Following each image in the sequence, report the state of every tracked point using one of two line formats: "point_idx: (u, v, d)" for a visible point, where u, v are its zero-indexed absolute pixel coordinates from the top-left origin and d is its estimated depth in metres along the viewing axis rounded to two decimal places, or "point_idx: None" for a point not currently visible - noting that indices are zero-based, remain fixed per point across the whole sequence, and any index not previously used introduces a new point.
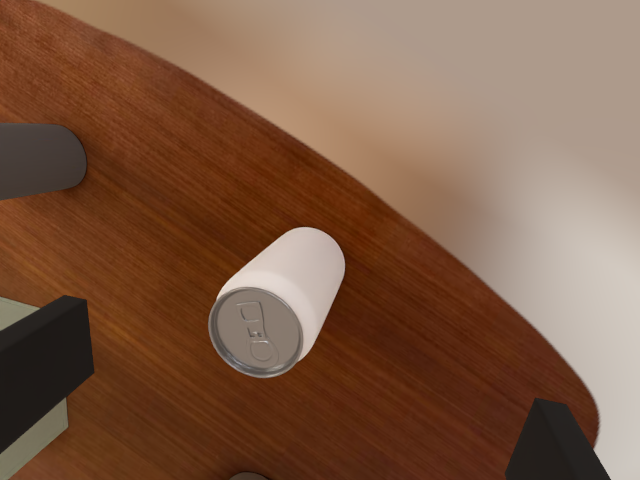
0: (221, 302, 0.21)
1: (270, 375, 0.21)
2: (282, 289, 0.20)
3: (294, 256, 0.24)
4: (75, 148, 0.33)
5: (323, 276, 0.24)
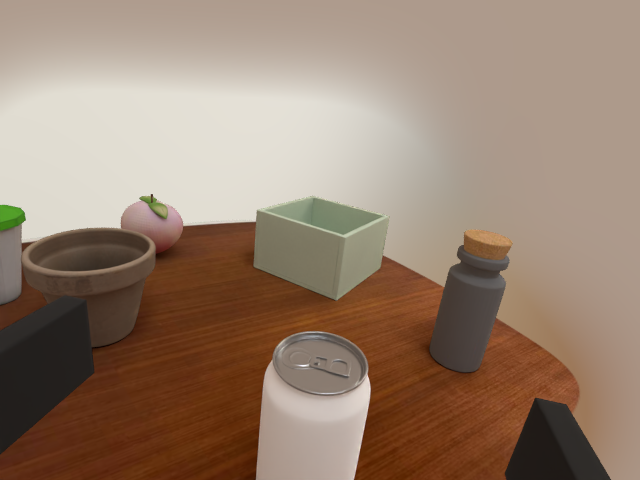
0: (355, 354, 0.23)
1: (275, 352, 0.22)
2: (350, 401, 0.20)
3: (353, 453, 0.22)
4: (461, 365, 0.41)
5: (317, 473, 0.21)
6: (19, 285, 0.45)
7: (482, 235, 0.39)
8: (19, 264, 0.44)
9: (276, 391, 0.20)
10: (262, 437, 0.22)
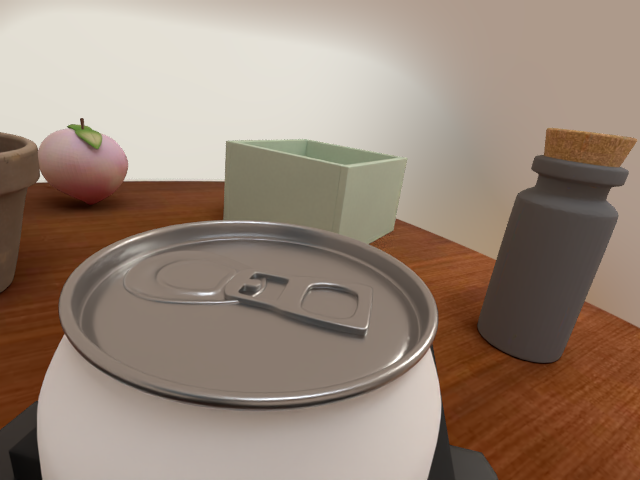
0: (383, 275, 0.08)
1: (109, 250, 0.06)
2: (377, 436, 0.04)
3: None
4: (537, 351, 0.25)
5: None
6: None
7: None
8: None
9: (53, 386, 0.05)
10: None
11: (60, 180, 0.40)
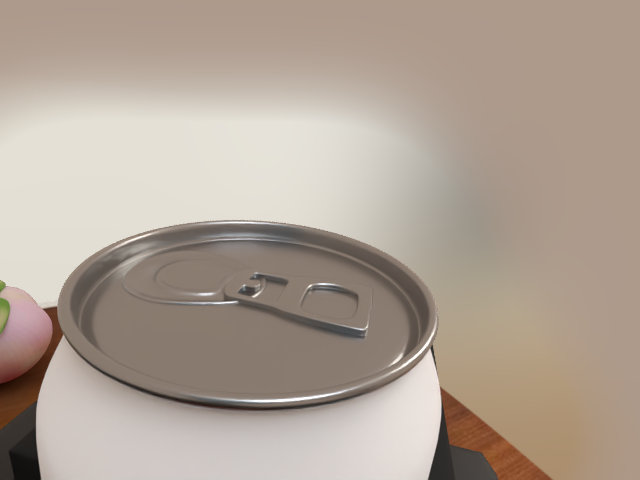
0: (382, 275, 0.08)
1: (108, 250, 0.06)
2: (377, 437, 0.04)
3: None
4: None
5: None
6: None
7: None
8: None
9: (52, 387, 0.05)
10: None
11: None
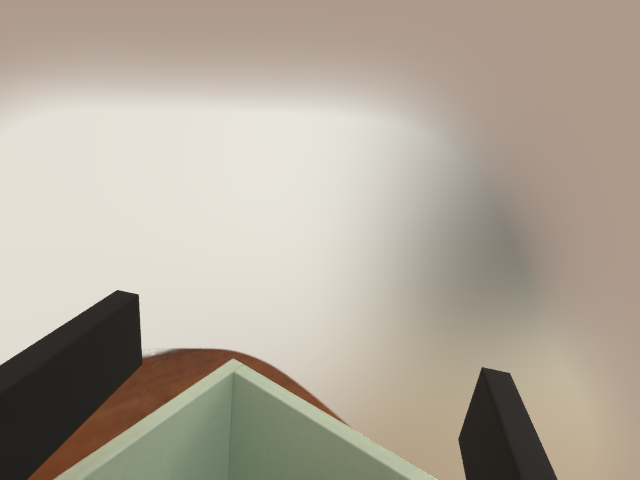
0: None
1: None
2: None
3: None
4: None
5: None
6: None
7: None
8: None
9: None
10: None
11: None
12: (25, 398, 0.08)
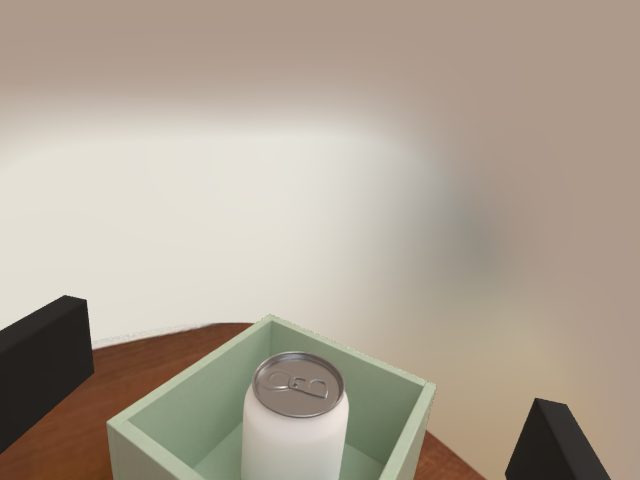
0: (334, 373, 0.24)
1: (255, 374, 0.23)
2: (327, 422, 0.21)
3: (332, 471, 0.22)
4: None
5: None
6: None
7: None
8: None
9: (255, 414, 0.21)
10: (244, 458, 0.23)
11: None
12: None
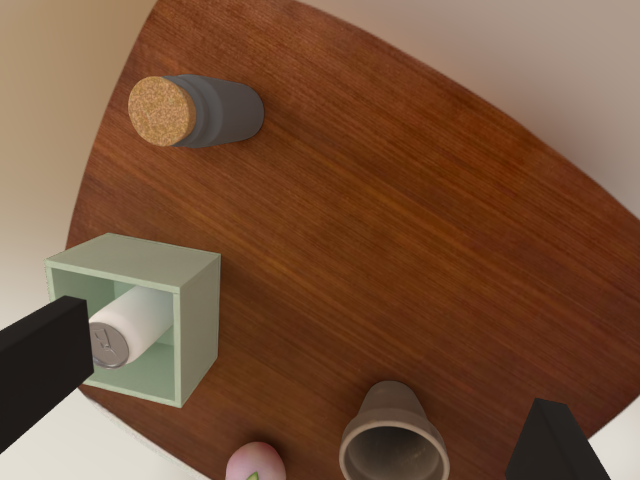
0: None
1: (115, 368, 0.39)
2: (116, 322, 0.38)
3: (136, 298, 0.41)
4: (259, 103, 0.39)
5: (155, 309, 0.42)
6: None
7: (159, 120, 0.27)
8: None
9: (135, 354, 0.39)
10: (156, 339, 0.43)
11: (283, 466, 0.51)
12: None
